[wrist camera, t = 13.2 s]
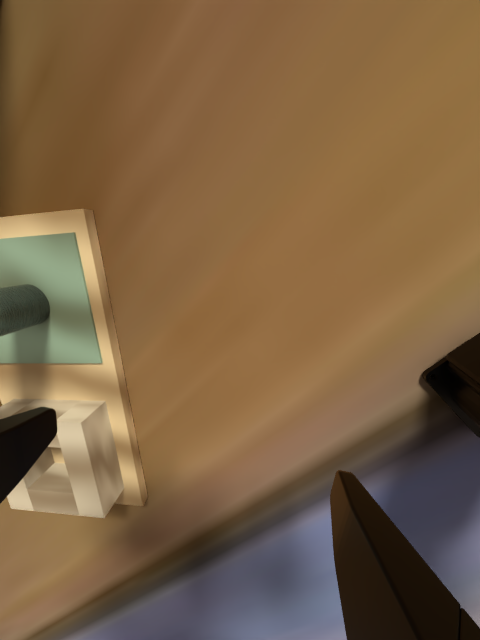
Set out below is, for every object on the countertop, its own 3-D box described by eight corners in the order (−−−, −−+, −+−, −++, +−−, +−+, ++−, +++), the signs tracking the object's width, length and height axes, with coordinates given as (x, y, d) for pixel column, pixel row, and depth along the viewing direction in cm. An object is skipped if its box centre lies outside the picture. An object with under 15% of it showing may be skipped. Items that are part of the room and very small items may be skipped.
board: (147, 497, 27) (125, 538, 23) (40, 487, 29) (3, 524, 25) (92, 210, 20) (48, 203, 17) (-43, 223, 22) (-110, 220, 19)
